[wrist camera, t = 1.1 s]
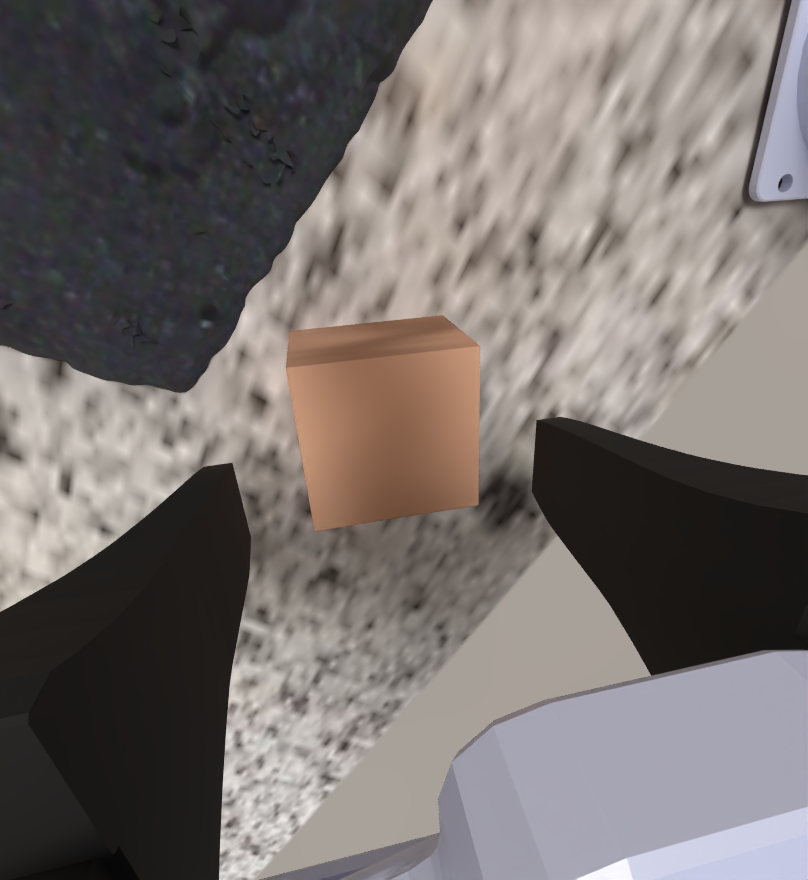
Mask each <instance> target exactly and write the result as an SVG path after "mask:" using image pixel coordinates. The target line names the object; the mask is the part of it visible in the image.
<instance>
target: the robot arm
mask: <svg viewBox="0 0 808 880" xmlns="http://www.w3.org/2000/svg"><path fill="white" fill-rule="evenodd" d="M781 178H782V184H781V186H780V188H779V189H778V183H779V181H780V179H781ZM749 195H750V198H752V199H753V200H754V201H758V202H768V201H781V200H794V199H807V198H808V0H792V2H791V6H790V11H789V15H788V19H787V24H786V28H785V32H784V37H783V41H782V45H781V50H780V54H779V58H778V63H777V67H776V71H775V76H774V80H773V84H772V89H771V93H770V97H769V102H768V106H767V111H766V115H765V119H764V124H763V128H762V132H761V137H760V141H759V145H758V150H757V154H756V158H755V163H754V167H753V171H752V176H751V180H750V184H749ZM532 493H533V495H534V497H535V499H536V501H537V503H538V505H539V507H540V509H541V510H542V512H543V514H544V516H545V517H546V519H547V521H548V523H549V524H550V526H551V527H552V528H553V530H554V531H555V532H556V534H557V535H558V536H559V538H560V539H561V540H562V542H563V543H564V544H565V546H566V547H567V548H568V550H569V551H570V552H571V554H572V555H573V556H574V558H575V559H576V560H577V562H578V563H579V564H580V565H581V567H582V568H583V569H584V571H585V572H586V573H587V575H588V576H589V577H590V579H591V580H592V581H593V582H594V584H595V585H596V586H597V587H598V589H599V590H600V592H601V593H602V594H603V596H604V597H605V599H606V600H607V602H608V603H609V605H610V606H611V607H612V609H613V611H614V612H615V614H616V616H617V617H618V619H619V621H620V622H621V624H622V626H623V627H624V629H625V631H626V632H627V634H628V636H629V637H630V639H631V641H632V642H633V644H634V646H635V647H636V649H637V651H638V653H639V654H640V656H641V658H642V660H643V662H644V663H645V665H646V667H647V669H648V671H649V672H650V674H651V676H648V677H644V678H640V679H635V680H631V681H626V682H622V683H618V684H613V685H609V686H605V687H600V688H596V689H591V690H587V691H582V692H578V693H574V694H570V695H565V696H561V697H556V698H552V699H547V700H543V701H541V702H538V703H536V704H533V705H531V706H528V707H526V708H524V709H521V710H519V711H516V712H514V713H511V714H509V715H506V716H504V717H502V718H499V719H496V720H495V721H493V722H492V723H491V724H489V725H488V726H487V727H486V728H485V729H484V730H483V731H481V732H480V733H479V734H478V735H477V736H476V737H475V738H473V739H472V740H471V741H470V742H469V743H468V744H467V745H466V746H464V747H463V748H462V749H461V750H460V751H459V752H458V753H457V755H456V756H455V758H454V759H453V761H452V763H451V766H450V768H449V771H448V774H447V776H446V779H445V782H444V784H443V787H442V790H441V792H440V795H439V798H438V804H439V824H440V833H437V834H434V835H430V836H426V837H422V838H418V839H414V840H410V841H407V842H403V843H399V844H395V845H392V846H387V847H384V848H380V849H376V850H372V851H368V852H364V853H361V854H356V855H353V856H349V857H345V858H341V859H337V860H333V861H330V862H326V863H322V864H318V865H315V866H310V867H307V868H303V869H299V870H295V871H291V872H287V873H283V874H280V875H276V876H272V877H268V878H264V879H260V880H808V475H799V474H792V473H785V472H778V471H771V470H764V469H757V468H751V467H745V466H740V465H734V464H730V463H725V462H720V461H715V460H711V459H706V458H701V457H697V456H693V455H689V454H685V453H682V452H678V451H675V450H671V449H667V448H664V447H660V446H657V445H653V444H650V443H647V442H643V441H640V440H637V439H634V438H631V437H628V436H625V435H622V434H618V433H615V432H612V431H609V430H606V429H603V428H600V427H597V426H594V425H591V424H587V423H584V422H581V421H577V420H573V419H569V418H563V417H556V418H549V419H542V420H537V422H536V437H535V451H534V466H533V481H532ZM250 548H251V536H250V532H249V528H248V524H247V520H246V516H245V512H244V508H243V504H242V500H241V496H240V492H239V488H238V484H237V480H236V476H235V472H234V468H233V464H232V463H228V464H221V465H214V466H206V467H203V468H202V469H200V470H199V471H198V472H196V473H195V474H194V475H193V476H192V477H191V478H189V479H188V480H187V481H186V482H185V483H184V484H183V485H182V486H180V487H179V488H178V489H177V490H176V491H175V492H174V493H173V494H171V495H170V496H169V497H168V498H167V499H166V500H165V501H164V502H162V503H161V504H160V505H159V506H158V507H157V508H156V509H154V510H153V511H152V512H151V513H150V514H149V515H147V516H146V517H145V518H144V519H142V520H141V521H140V522H139V523H137V524H136V525H135V526H134V527H132V528H131V529H130V530H129V531H127V532H126V533H125V534H124V535H122V536H121V537H120V538H119V539H117V540H116V541H115V542H113V543H112V544H111V545H109V546H108V547H106V548H105V549H104V550H102V551H101V552H99V553H98V554H97V555H95V556H94V557H92V558H91V559H89V560H88V561H86V562H85V563H83V564H82V565H80V566H79V567H77V568H76V569H74V570H72V571H71V572H69V573H68V574H66V575H65V576H63V577H61V578H60V579H58V580H56V581H54V582H53V583H51V584H49V585H47V586H46V587H44V588H42V589H40V590H39V591H37V592H35V593H33V594H32V595H30V596H28V597H26V598H25V599H23V600H21V601H19V602H18V603H16V604H14V605H12V606H11V607H9V608H7V609H5V610H3V611H1V612H0V880H219V855H220V831H221V808H222V786H223V769H224V753H225V737H226V723H227V711H228V698H229V686H230V678H231V671H232V664H233V659H234V654H235V648H236V643H237V638H238V633H239V627H240V622H241V617H242V612H243V607H244V601H245V596H246V590H247V585H248V579H249V570H250Z"/></svg>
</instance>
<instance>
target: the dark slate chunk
mask: <svg viewBox="0 0 808 880" xmlns="http://www.w3.org/2000/svg"><path fill="white" fill-rule="evenodd" d="M432 1H433V0H0V345H2V346H7V347H11V348H13V349H16V350H18V351H20V352H22V353H25V354H28V355H32V356H36V357H43V358H51V359H57V360H62V361H65V362H67V363H68V364H69V365H70V366H71V367H72V368H74V369H76V370H78V371H80V372H83V373H86V374H89V375H92V376H94V377H97V378H100V379H103V380H107V381H117V382H122V383H125V384H129V385H152V386H155V387H158V388H162V389H167V390H171V391H174V392H179V393H182V392H186V391H187V390H189V389H190V388H191V387H192V386H193V385H194V384H195V383H196V382H197V380H198V378H199V377H200V376H201V375H202V374H203V373H204V372H205V370H206V368H207V365H208V362H209V360H210V358H211V357H213V356H214V355H215V354H217V353H218V352H219V351H220V350H221V349H222V348H223V347H224V346H225V345H226V344H227V342H228V341H229V339H230V337H231V335H232V333H233V332H234V330H235V328H236V326H237V323H238V320H239V317H240V314H241V312H242V310H243V308H244V307H245V298H246V296H247V294H248V292H249V291H250V290H251V288H252V287H253V286H255V285H256V284H257V283H258V282H259V281H260V280H261V279H263V278H264V277H265V276H266V275H267V274H268V273H269V272H270V270H271V268H272V264H273V261H274V259H275V257H276V256H277V255H278V254H279V253H281V252H282V251H283V250H284V249H285V248H286V246H287V245H288V243H289V241H290V239H291V237H292V234H293V231H294V227H295V224H296V222H297V221H298V220H299V219H300V218H301V217H302V215H303V214H304V213H305V212H306V211H307V210H308V208H309V207H310V206H311V204H312V203H313V201H314V200H315V198H316V196H317V195H318V193H319V191H320V190H321V188H322V186H323V185H324V183H325V181H326V180H327V178H328V177H329V175H330V174H331V172H332V171H333V170H334V169H335V167H336V166H337V165H338V163H339V162H340V161H341V159H342V158H343V156H344V152H345V149H346V147H347V144H348V143H349V141H350V140H351V138H352V137H353V136H354V135H355V134H356V133H357V132H358V131H359V129H360V126H361V124H362V122H363V121H364V119H365V117H366V115H367V113H368V111H369V109H370V107H371V105H372V103H373V101H374V99H375V96H376V93H377V90H378V87H379V83H380V82H382V81H383V80H384V79H386V78H387V77H388V76H389V75H390V74H391V73H392V72H393V70H394V69H395V66H396V64H397V61H398V59H399V56H400V54H401V52H402V50H403V48H404V47H405V45H406V44H407V42H408V41H409V39H410V38H411V37H412V35H413V34H414V32H415V31H416V30H417V28H418V27H419V26H420V24H421V23H422V21H423V20H424V17H425V15H426V13H427V10H428V8H429V6H430V4H431V2H432Z"/></svg>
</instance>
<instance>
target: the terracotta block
mask: <svg viewBox="0 0 808 880" xmlns="http://www.w3.org/2000/svg"><path fill="white" fill-rule="evenodd" d="M286 371H287V377H288V383H289V388H290V394H291V400H292V406H293V411H294V417H295V423H296V428H297V434H298V440H299V445H300V451H301V457H302V462H303V468H304V474H305V479H306V485H307V491H308V496H309V502H310V508H311V513H312V519H313V525H314V530H315V531H319V530H326V529H332V528H338V527H344V526H351V525H357V524H363V523H370V522H376V521H382V520H388V519H395V518H401V517H407V516H413V515H420V514H426V513H432V512H439V511H445V510H451V509H457V508H464V507H470V506H476V505H478V497H479V402H480V346H479V345H478V344H477V343H476V342H475V341H473V340H472V339H471V338H470V337H468V336H467V335H466V334H465V333H464V332H462V331H461V330H460V329H459V328H457V327H456V326H455V325H454V324H453V323H451V322H450V321H449V320H448V319H446V318H445V317H444V316H443V315H442V316H432V317H423V318H413V319H403V320H394V321H384V322H374V323H364V324H355V325H345V326H335V327H326V328H316V329H306V330H297V331H290V333H289V343H288V352H287V362H286Z"/></svg>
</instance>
